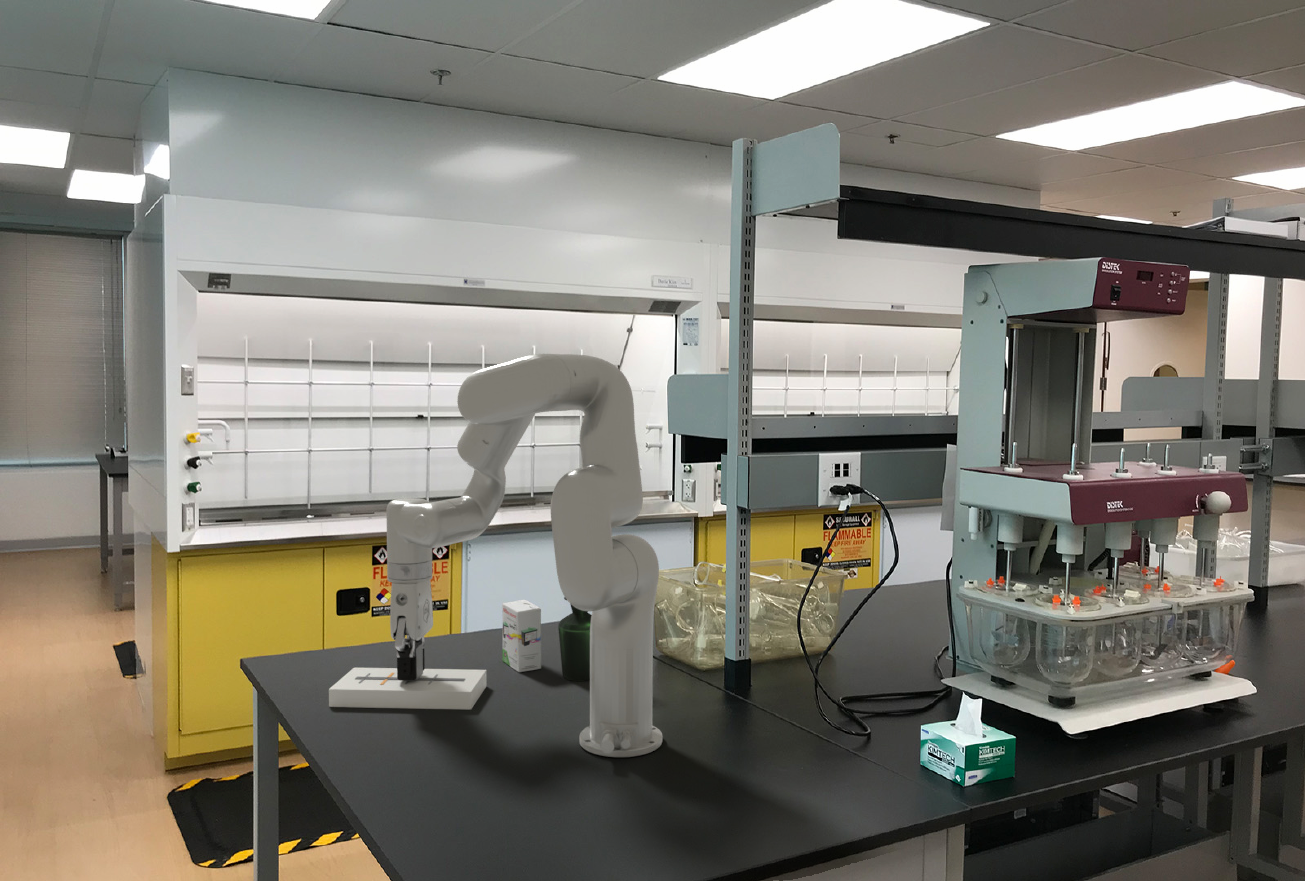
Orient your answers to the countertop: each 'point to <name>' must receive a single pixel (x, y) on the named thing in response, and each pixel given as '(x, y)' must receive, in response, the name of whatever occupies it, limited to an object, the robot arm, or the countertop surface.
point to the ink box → (521, 635)
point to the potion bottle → (575, 645)
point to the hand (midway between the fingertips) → (411, 674)
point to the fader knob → (418, 659)
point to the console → (408, 689)
